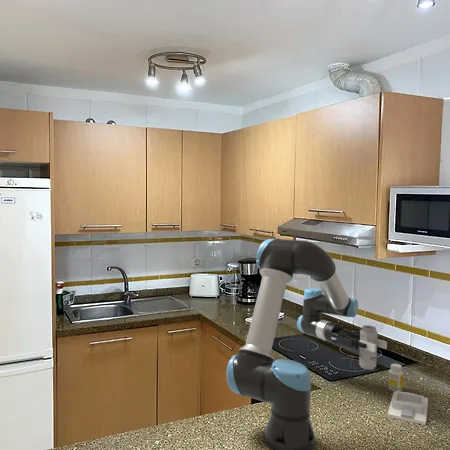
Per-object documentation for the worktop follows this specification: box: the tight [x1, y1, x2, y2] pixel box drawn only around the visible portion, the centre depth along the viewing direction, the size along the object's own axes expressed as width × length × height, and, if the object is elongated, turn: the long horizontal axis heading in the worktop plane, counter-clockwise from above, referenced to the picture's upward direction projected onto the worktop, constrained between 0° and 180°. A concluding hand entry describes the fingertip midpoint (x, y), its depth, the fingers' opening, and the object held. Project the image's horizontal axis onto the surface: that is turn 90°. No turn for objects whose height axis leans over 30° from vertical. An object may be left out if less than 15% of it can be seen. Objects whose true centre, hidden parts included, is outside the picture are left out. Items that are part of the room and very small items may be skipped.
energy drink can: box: [358, 324, 378, 371], centre depth 163 cm, size 6×6×15 cm
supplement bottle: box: [387, 363, 404, 392], centre depth 175 cm, size 5×5×10 cm
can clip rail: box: [387, 391, 429, 426], centre depth 158 cm, size 21×12×4 cm, turn 154°
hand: (380, 346), depth 158 cm, fingers closed on energy drink can, 6 cm apart
